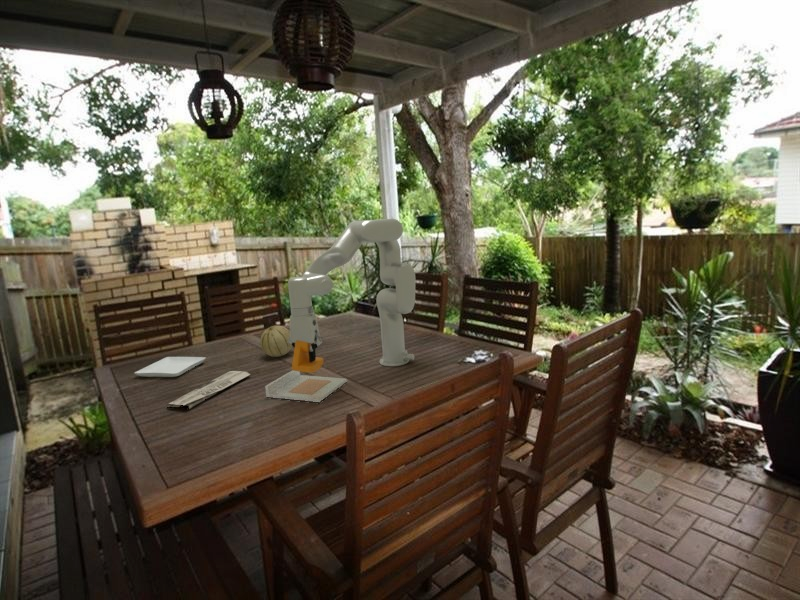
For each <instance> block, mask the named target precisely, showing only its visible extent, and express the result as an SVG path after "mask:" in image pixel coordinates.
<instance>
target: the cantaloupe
mask: <svg viewBox="0 0 800 600" xmlns="http://www.w3.org/2000/svg"><path fill="white" fill-rule="evenodd" d="M289 337H290V329H289V328H286V327H285V326H283V325H272V326H269V327H268V328H266V329H265V330H264V331H262V333H261V336H260V339H259V340H260V343H259V344H260V348H261V351H262V352H263V353H264V354H265V355H267V356H269V357H272V358H280V357H283V356H285V355H286V354H288V353H289V352H290V351H291V350H292V348H293V346H292V344H290V343H289V342H288V339H289Z"/></svg>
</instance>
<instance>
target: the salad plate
mask: <svg viewBox="0 0 800 600" xmlns="http://www.w3.org/2000/svg"><path fill="white" fill-rule="evenodd" d="M206 359H207V357H203V356H201V357H200V356H166V357H164V358H161V359H160V360H158V361H155V362H153V363H152V364H149V365H147V366H145V367H142V368H141V369H139V370H136V371H134V375H136V376H139V377H143V378H145V377H148V378H176V377H178V376H181V375H183V374H184V373H187V372H188V370H189V371H191V370H193V369H195V368H196V367H198V366H199V365H201V364H202V363H203V362H204V361H205V360H206ZM195 366H196V367H195ZM186 371H187V372H186Z"/></svg>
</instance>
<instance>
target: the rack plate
mask: <svg viewBox="0 0 800 600" xmlns="http://www.w3.org/2000/svg"><path fill="white" fill-rule="evenodd" d="M345 382H347V383H348V379H347V378H341V377H330V376H318V375H317V376H316V375H305V374H301V372H300V371H292V370H290V371H289V372H287V373H285V374H283V375H282V376H280V377H278V378H276V379H274V381H271V382H269V383H267V384H266V385H265V386H264V389H265V395H266V397H273V398H285V399H294V400H305V401H313V402H320V401H321V400H323V399H324V398H325V397H327V396H328V395H329V394H331V393H332V392H333V391H334V390H336V389H337V388H338V387H340V386H341V385H342V384H344V383H345ZM344 385H345V384H344ZM331 395H332V394H331ZM266 397H265V398H266Z"/></svg>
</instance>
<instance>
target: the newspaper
mask: <svg viewBox="0 0 800 600" xmlns="http://www.w3.org/2000/svg"><path fill="white" fill-rule="evenodd" d="M250 375H252V374H251V373H249V372H248V371H240V370H231V371H228V372H226V373H223V374H222V375H220V376H218V377H216V378H214V379H212V380H210V381H209V382H207V383H205V384H203V385H201V386H199V387H197V388H195V389H193V390H191V391H190V392H187V393H185V394H184V395H182V396H180V397H178V398H177V399H175V400H173V401H171V402H169V403H167V404H166V405H165V408H166V409H168V408H167V407H172V406H173V405H183V406H188V408H189V410H190V409H192V408H194V407H196V406H197V405H198V404H200V403H202V402H204V401H205V399H206V400H208V399H209V398H210V397H212V396H215V395H216V394H218V393H220V392H221V391H223V390H225V389H227V388H229V387H231V386H232V385H234V384H236V383H238V382H240V381H241V380H243V379H245V378H247V377H249V376H250Z"/></svg>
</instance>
